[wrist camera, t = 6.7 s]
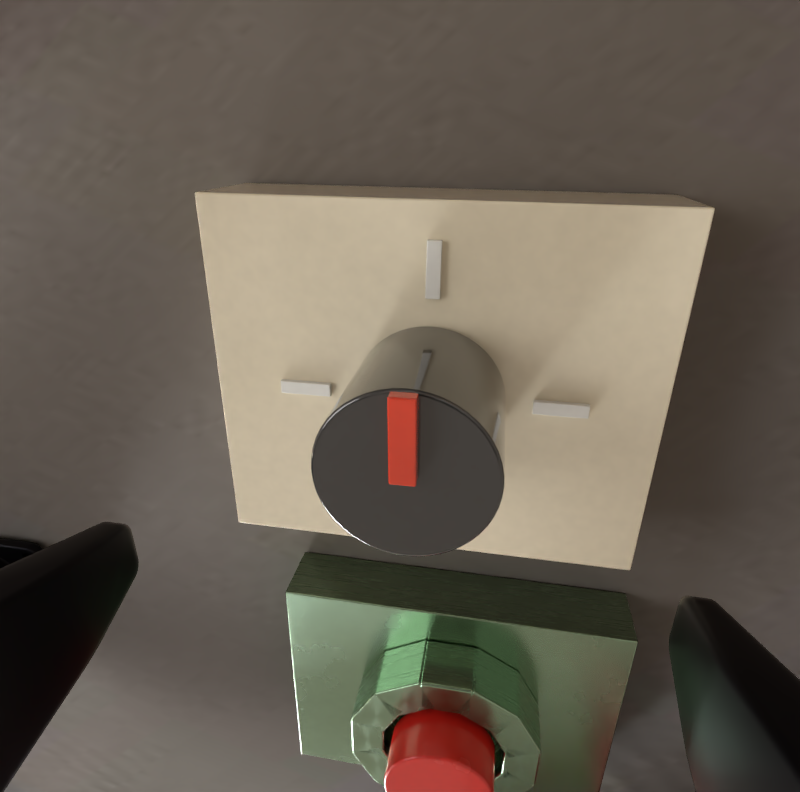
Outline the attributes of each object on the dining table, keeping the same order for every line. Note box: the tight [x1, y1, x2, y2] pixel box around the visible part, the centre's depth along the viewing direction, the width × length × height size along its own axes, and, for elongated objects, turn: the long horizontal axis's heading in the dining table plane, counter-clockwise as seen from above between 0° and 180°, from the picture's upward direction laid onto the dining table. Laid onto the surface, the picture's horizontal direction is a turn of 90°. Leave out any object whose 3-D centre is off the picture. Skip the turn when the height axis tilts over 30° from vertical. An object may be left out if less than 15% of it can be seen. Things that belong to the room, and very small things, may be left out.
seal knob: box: [311, 326, 506, 556], centre depth 13 cm, size 4×4×4 cm
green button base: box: [286, 552, 638, 792], centre depth 21 cm, size 12×9×4 cm
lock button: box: [384, 709, 495, 792], centre depth 19 cm, size 4×4×2 cm
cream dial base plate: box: [195, 183, 715, 570], centre depth 16 cm, size 12×10×3 cm
